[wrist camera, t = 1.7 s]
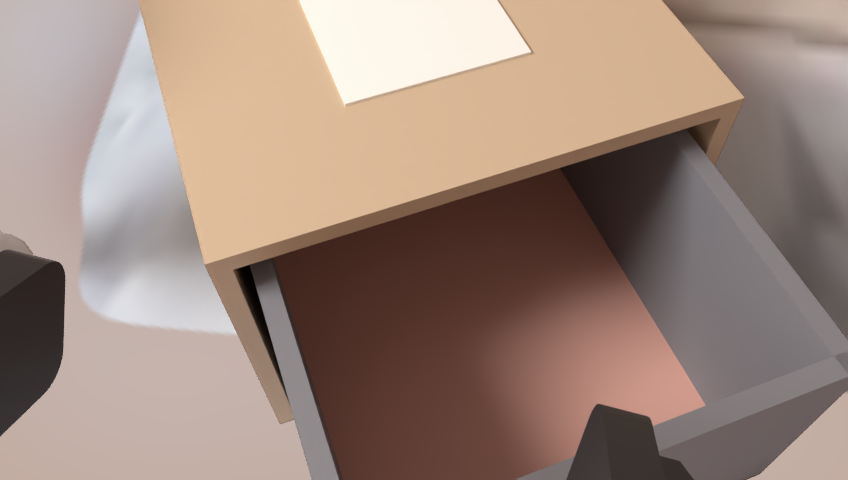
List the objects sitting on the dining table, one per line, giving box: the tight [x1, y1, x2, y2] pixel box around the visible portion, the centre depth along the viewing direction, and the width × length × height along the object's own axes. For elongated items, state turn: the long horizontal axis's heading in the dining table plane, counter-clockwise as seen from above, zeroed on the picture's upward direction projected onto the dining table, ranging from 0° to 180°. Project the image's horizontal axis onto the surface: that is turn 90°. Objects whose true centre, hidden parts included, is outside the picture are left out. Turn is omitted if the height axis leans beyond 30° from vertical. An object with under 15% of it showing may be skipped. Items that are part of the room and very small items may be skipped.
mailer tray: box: [250, 129, 848, 480], centre depth 29 cm, size 26×14×8 cm, turn 20°
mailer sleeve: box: [139, 0, 744, 424], centre depth 31 cm, size 18×16×11 cm
